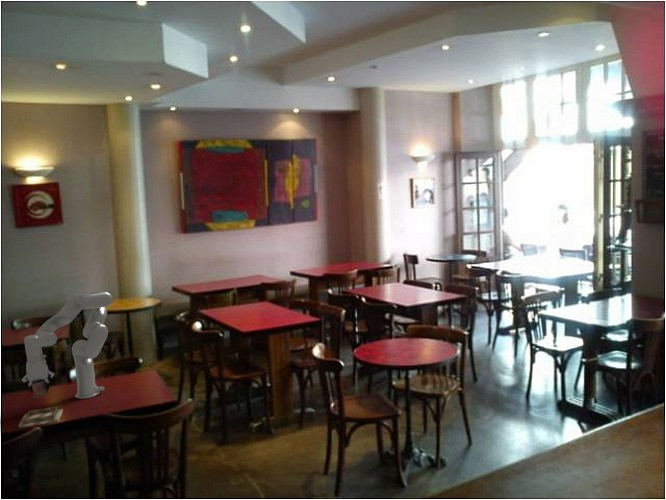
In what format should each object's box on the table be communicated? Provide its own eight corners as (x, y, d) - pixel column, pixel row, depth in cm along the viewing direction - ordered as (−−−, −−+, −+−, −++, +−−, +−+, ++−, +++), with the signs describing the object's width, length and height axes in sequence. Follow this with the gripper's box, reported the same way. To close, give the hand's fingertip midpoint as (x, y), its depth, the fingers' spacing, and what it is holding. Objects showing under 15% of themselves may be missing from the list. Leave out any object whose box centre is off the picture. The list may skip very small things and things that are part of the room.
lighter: (35, 398, 318) (32, 379, 317) (32, 397, 320) (29, 379, 319) (49, 392, 325) (47, 374, 324) (46, 391, 327) (43, 373, 325)
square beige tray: (62, 411, 318) (62, 405, 318) (58, 421, 303) (57, 415, 302) (25, 416, 313) (24, 410, 313) (18, 427, 298) (18, 421, 297)
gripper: (54, 353, 326) (59, 385, 328) (18, 359, 321) (23, 391, 323) (51, 357, 319) (57, 390, 321) (15, 363, 314) (21, 396, 316)
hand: (40, 390), depth 322 cm, fingers closed on lighter, 6 cm apart
